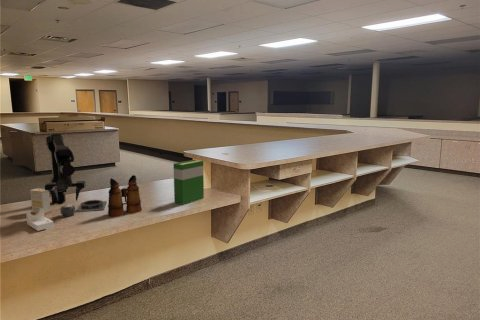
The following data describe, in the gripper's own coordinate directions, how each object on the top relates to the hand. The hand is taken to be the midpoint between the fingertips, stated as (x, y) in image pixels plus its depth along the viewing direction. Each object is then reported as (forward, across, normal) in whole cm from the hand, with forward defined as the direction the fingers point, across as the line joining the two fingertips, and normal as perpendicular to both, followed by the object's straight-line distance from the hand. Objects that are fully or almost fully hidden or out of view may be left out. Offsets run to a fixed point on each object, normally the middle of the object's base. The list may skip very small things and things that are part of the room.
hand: (67, 201), depth 179 cm
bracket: (+8, -9, -15) cm, 19 cm away
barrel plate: (+8, +10, +12) cm, 17 cm away
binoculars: (+8, +29, -2) cm, 30 cm away
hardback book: (+8, +66, +13) cm, 68 cm away
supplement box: (+8, -15, +8) cm, 19 cm away
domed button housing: (+8, 0, 0) cm, 8 cm away
